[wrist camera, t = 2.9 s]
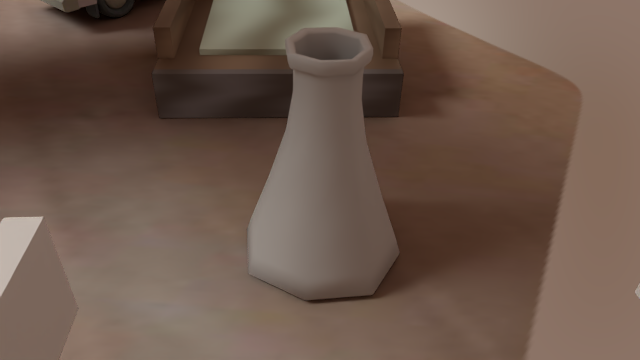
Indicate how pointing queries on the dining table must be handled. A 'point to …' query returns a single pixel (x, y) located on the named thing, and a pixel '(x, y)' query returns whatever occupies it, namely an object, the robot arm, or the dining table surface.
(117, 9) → the toy vehicle
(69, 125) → the dining table surface
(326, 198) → the flask
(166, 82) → the dock
